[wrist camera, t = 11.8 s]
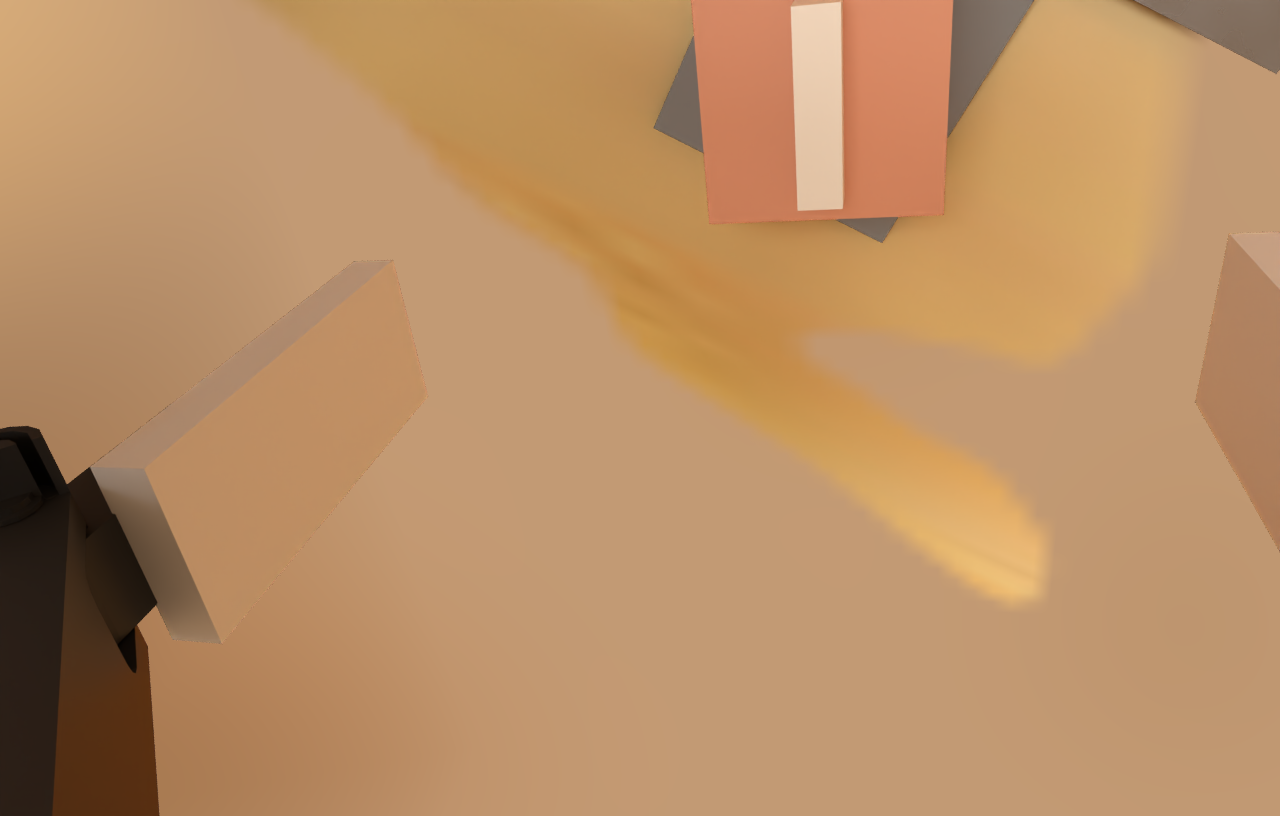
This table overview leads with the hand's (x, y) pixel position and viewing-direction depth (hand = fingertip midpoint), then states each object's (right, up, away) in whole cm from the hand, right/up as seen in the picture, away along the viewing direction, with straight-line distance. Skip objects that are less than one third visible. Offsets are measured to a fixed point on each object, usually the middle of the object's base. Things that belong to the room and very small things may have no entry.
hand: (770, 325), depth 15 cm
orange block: (+5, +11, +19) cm, 22 cm away
